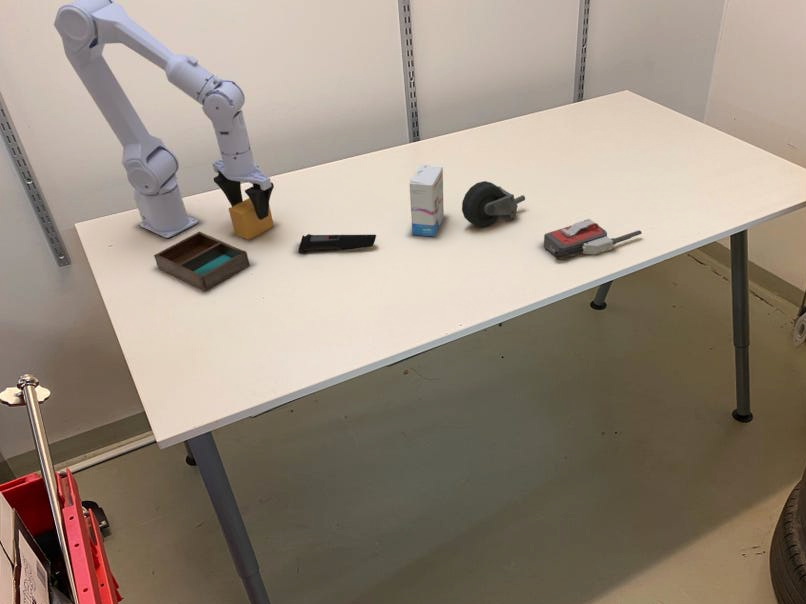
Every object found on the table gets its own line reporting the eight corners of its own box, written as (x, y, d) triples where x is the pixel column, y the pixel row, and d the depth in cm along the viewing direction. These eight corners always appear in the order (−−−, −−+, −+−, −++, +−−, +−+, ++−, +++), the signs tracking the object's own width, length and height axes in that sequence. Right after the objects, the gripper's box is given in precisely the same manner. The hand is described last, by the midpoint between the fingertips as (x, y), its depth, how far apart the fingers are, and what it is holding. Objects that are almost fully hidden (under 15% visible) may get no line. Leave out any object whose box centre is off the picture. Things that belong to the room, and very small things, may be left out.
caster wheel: (475, 239, 148) (532, 211, 154) (471, 198, 141) (530, 171, 147) (460, 228, 152) (516, 201, 157) (454, 187, 145) (513, 161, 151)
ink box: (435, 237, 147) (432, 184, 139) (411, 235, 148) (407, 182, 140) (445, 217, 153) (443, 165, 146) (422, 215, 154) (419, 163, 146)
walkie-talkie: (561, 268, 138) (643, 240, 145) (563, 248, 135) (646, 221, 143) (536, 247, 144) (616, 221, 151) (537, 227, 141) (618, 202, 148)
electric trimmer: (376, 253, 143) (375, 239, 141) (297, 254, 143) (295, 240, 140) (378, 243, 146) (376, 229, 144) (301, 244, 145) (298, 230, 143)
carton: (235, 234, 148) (228, 208, 145) (260, 220, 153) (254, 194, 149) (248, 240, 147) (241, 214, 143) (274, 226, 151) (268, 200, 147)
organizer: (158, 268, 139) (153, 255, 137) (203, 244, 146) (199, 231, 144) (205, 291, 133) (201, 278, 131) (249, 265, 140) (246, 252, 138)
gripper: (277, 150, 138) (290, 213, 146) (226, 133, 144) (241, 195, 153) (248, 163, 133) (263, 228, 142) (197, 145, 140) (215, 208, 148)
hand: (250, 212), depth 147 cm, fingers open, 7 cm apart
